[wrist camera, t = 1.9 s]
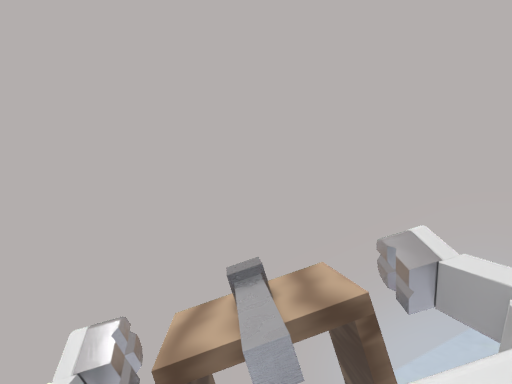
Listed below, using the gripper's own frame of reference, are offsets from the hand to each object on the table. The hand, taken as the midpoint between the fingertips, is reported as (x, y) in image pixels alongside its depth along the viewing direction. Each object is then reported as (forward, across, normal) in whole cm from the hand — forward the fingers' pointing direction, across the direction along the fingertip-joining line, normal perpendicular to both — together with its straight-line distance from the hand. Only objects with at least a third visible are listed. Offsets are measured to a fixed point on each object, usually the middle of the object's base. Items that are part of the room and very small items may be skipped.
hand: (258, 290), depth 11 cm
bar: (+13, +1, +17) cm, 21 cm away
